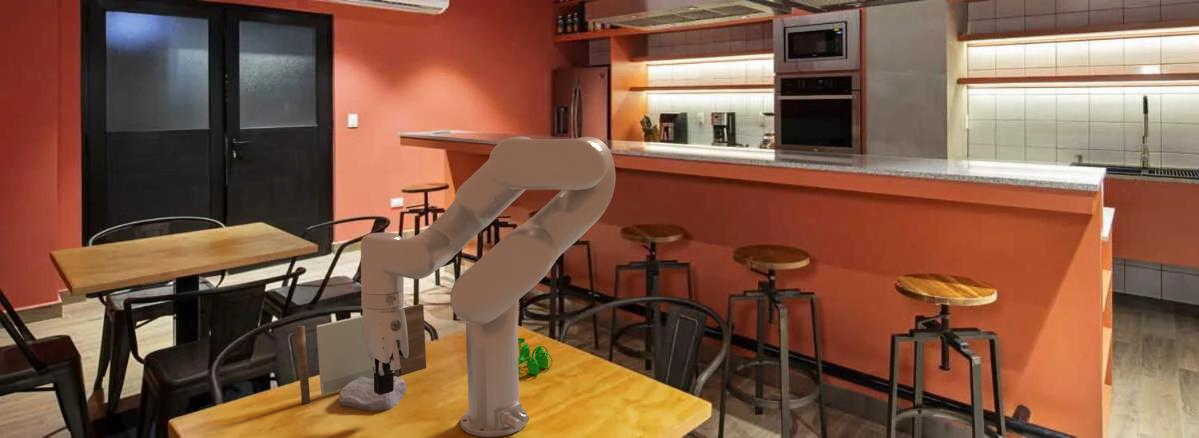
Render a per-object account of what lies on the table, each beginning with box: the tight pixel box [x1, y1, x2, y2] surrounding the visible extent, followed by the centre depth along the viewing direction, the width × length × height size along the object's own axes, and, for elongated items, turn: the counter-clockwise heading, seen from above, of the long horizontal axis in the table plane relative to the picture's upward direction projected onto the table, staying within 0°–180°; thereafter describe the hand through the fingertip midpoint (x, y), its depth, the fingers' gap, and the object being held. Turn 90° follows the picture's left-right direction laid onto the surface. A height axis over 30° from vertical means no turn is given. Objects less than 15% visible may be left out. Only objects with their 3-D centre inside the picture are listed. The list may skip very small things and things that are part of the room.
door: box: [315, 315, 376, 395], centre depth 146 cm, size 15×1×14 cm, turn 135°
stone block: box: [338, 376, 407, 412], centre depth 140 cm, size 12×5×10 cm
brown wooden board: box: [295, 303, 427, 405], centre depth 148 cm, size 2×28×16 cm, turn 135°
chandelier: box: [518, 337, 554, 377], centre depth 158 cm, size 15×15×7 cm
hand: (383, 391), depth 131 cm, fingers closed
